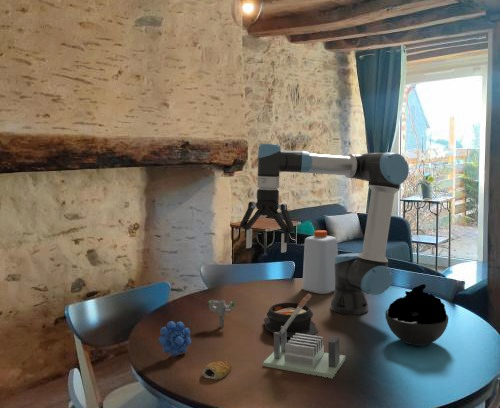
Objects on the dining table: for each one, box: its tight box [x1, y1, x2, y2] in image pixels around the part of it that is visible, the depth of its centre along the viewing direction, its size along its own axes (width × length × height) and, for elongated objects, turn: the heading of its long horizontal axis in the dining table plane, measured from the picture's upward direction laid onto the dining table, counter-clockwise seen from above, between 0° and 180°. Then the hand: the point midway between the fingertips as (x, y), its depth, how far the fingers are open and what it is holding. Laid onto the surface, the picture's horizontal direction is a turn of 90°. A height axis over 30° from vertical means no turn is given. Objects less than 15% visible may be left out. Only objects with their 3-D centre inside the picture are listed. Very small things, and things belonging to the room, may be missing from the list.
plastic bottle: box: [301, 229, 339, 295], centre depth 229 cm, size 15×15×28 cm
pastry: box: [201, 360, 232, 381], centre depth 146 cm, size 9×7×4 cm
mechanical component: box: [206, 299, 236, 329], centre depth 184 cm, size 3×10×10 cm, turn 78°
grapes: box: [158, 320, 192, 357], centre depth 158 cm, size 12×7×12 cm, turn 126°
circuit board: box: [262, 345, 346, 379], centre depth 151 cm, size 22×14×1 cm, turn 65°
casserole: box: [263, 302, 319, 339], centre depth 179 cm, size 25×19×8 cm
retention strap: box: [279, 293, 312, 338], centre depth 151 cm, size 17×6×1 cm
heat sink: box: [273, 326, 341, 369], centre depth 151 cm, size 19×11×8 cm, turn 65°
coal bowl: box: [385, 283, 449, 346], centre depth 163 cm, size 20×20×19 cm
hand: (266, 250), depth 169 cm, fingers open, 13 cm apart
